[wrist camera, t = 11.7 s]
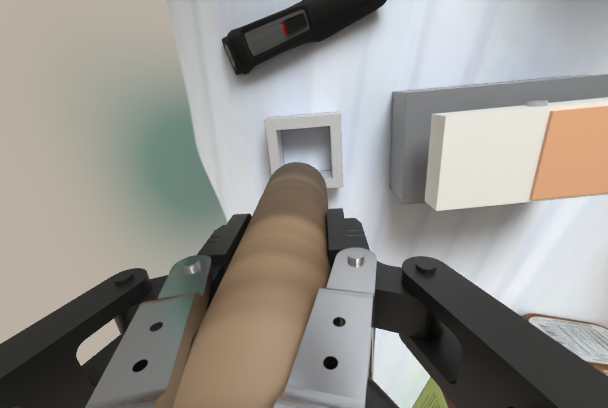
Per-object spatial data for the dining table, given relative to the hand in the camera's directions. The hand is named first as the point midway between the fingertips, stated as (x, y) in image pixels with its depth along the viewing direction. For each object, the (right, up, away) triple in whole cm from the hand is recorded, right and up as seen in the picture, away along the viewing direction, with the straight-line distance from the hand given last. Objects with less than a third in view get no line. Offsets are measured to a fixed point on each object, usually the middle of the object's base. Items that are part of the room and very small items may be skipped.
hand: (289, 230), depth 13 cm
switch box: (+18, +8, +16) cm, 25 cm away
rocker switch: (+17, +5, +9) cm, 20 cm away
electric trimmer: (0, +18, +14) cm, 23 cm away
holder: (+1, +7, +17) cm, 19 cm away
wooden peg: (0, +2, +4) cm, 5 cm away
